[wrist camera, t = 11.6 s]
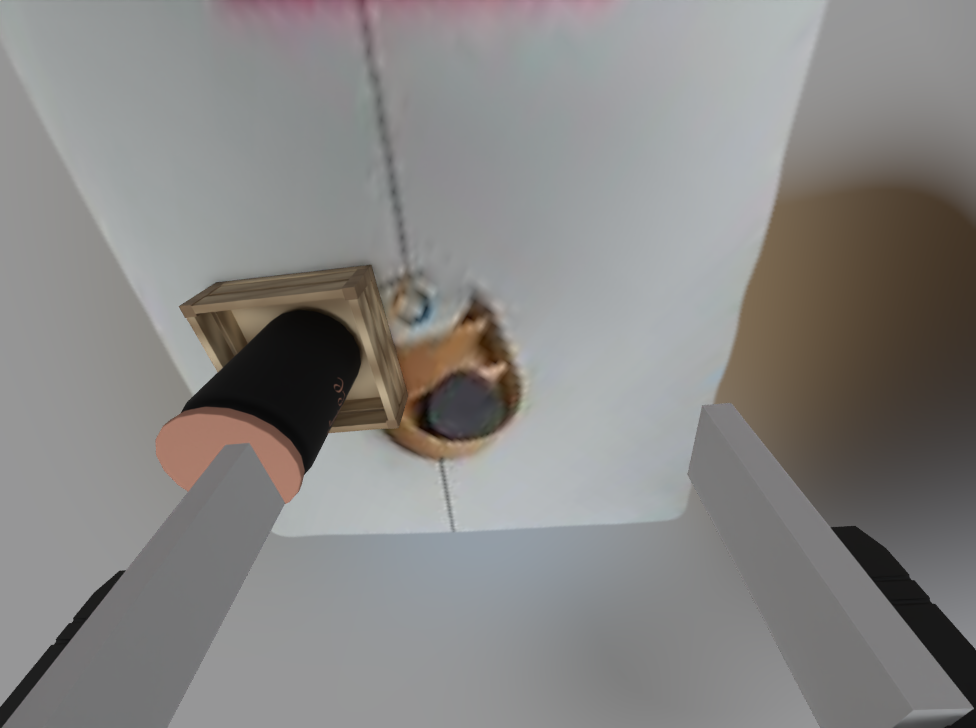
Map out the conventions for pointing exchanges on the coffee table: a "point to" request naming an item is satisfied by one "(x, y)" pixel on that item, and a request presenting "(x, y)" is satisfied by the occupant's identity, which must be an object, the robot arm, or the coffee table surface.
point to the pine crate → (337, 293)
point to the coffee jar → (268, 402)
